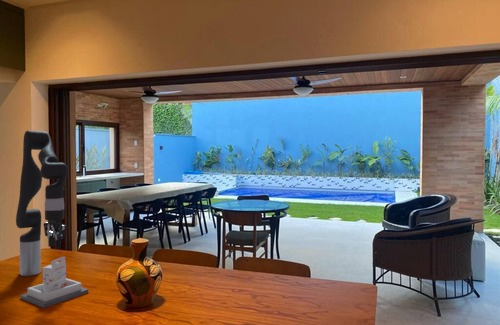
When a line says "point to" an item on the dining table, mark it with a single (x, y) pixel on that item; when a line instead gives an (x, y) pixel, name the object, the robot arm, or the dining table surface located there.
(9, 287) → the dining table surface
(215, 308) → the dining table surface
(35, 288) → the cartridge holder
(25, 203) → the robot arm
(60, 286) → the ink cartridge box
